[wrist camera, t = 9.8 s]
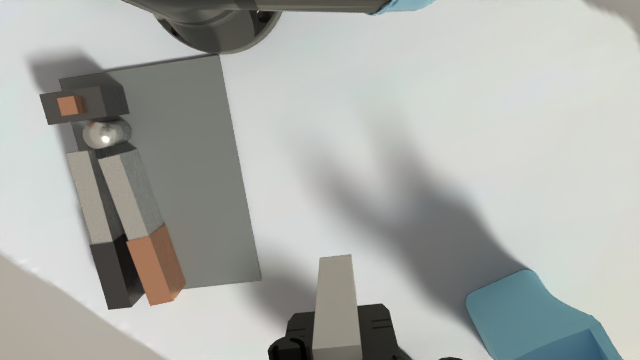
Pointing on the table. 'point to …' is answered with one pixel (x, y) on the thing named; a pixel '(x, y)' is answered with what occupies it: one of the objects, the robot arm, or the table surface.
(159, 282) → the tongs arm
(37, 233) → the table surface
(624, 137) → the table surface
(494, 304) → the vase
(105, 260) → the tongs fixed
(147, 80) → the mat
